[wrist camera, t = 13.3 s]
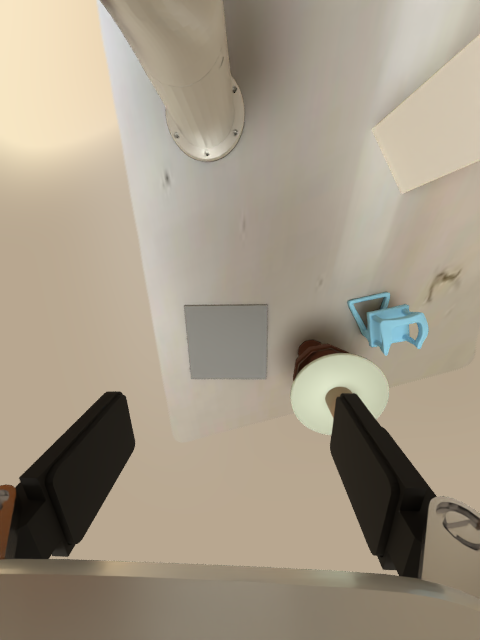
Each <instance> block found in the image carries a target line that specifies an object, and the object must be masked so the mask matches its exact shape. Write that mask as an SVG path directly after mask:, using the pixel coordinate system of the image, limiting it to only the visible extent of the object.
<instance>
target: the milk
mask: <svg viewBox="0 0 480 640" xmlns="http://www.w3.org/2000/svg"><path fill="white" fill-rule="evenodd" d="M372 132H373V134H374V136H375V138H376V140H377V143H378V145H379V147H380V149H381V151H382V153H383V156H384V158H385V160H386V162H387V164H388V166H389V169H390V171H391V173H392V175H393V177H394V179H395V182H396V184H397V186H398V188H399V190H400V192H401V194H403V193H405V192H408V191H410V190H412V189H415V188H417V187H419V186H422V185H424V184H426V183H429V182H431V181H433V180H435V179H438V178H440V177H442V176H445V175H447V174H449V173H452V172H454V171H456V170H459V169H461V168H463V167H466V166H468V165H470V164H473V163H475V162H477V161H479V160H480V34H479V35H478V36H477V37H476V38H475V39H474V40H473V41H472V42H470V43H469V44H468V45H467V46H466V47H465V48H464V49H462V50H461V51H460V52H459V53H458V54H457V55H456V56H454V57H453V58H452V59H451V60H450V61H449V62H448V63H447V64H445V65H444V66H443V67H442V68H441V69H440V70H439V71H437V72H436V73H435V74H434V75H433V76H432V77H431V78H430V79H428V80H427V81H426V82H425V83H424V84H423V85H422V86H420V87H419V88H418V89H417V90H416V91H415V92H414V93H412V94H411V95H410V96H409V97H408V98H407V99H406V100H405V101H403V102H402V103H401V104H400V105H399V106H398V107H397V108H395V109H394V110H393V111H392V112H391V113H390V114H389V115H387V116H386V117H385V118H384V119H383V120H382V121H381V122H380V123H378V124H377V125H376V126H375V127H374V128H373V129H372Z"/></svg>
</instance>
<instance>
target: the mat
mask: <svg viewBox="0 0 480 640" xmlns="http://www.w3.org/2000/svg"><path fill="white" fill-rule="evenodd" d="M184 311H185V321H186V331H187V341H188V352H189V362H190V372H191V379H266V371H267V313H268V305H185V306H184Z"/></svg>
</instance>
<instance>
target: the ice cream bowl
mask: <svg viewBox="0 0 480 640" xmlns="http://www.w3.org/2000/svg"><path fill="white" fill-rule="evenodd" d="M336 353H348V352H346V351H344V350H342V349H339V348H337V347H334V346H332V345H330V344H323V345H321V343H320V342H318V341H315V340H309V341H305V342H304V343H303V344H302V345H301V346H300V347H299V351H298V355H299V357H298V358H297V359H296V363H295V369H294V375H293V381H294V380H295V378H296V376H297V375H298V373H299V372H300V371H301V370H302V369H303V368H304V367H305V366H306V365H308V364H309V363H311V362H312V361H314V360H316V359H318V358H320V357H323V356H326V355H330V354H336ZM349 354H350V353H349Z"/></svg>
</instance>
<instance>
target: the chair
mask: <svg viewBox="0 0 480 640" xmlns="http://www.w3.org/2000/svg"><path fill="white" fill-rule="evenodd" d="M381 297H384V299H383V302H382V305H381V308H380V310H376V311H371V312H367V322H368V329H366V326H365V325H364V323H363V321H362V319H361V317H360V316H359V314H358V312H357V311H356V309H355V307H354V305H353V304H354V303H357V302H362V301H367V300H372V299H377V298H381ZM389 300H390V293H388V292H384V293H379V294H375V295H370V296H366V297H361V298H357V299H353V300H349V301H348V302H347V303H348V306H349V309H350V311H351V313H352V314H353V316H354V318H355V320H356V322H357V324H358V326H359V328H360V331H361V333H362V335H363V336H365V337H366V338H367V340H368V342H369V346H371V347H377V346H379V347H380V349H381V351H382V352H383V353H384V355H388V351H389V348H390V345H391V343H396V342H402V341H408V342H410V343H412V344H414V345H415V346H416V347H417V348H418V349H420V348H421V346H422V343H423V341H424V340H425V338H426V337H427V335H428V324H427V321H426V318H425V316H424V314H423V313H420V312H409V305H406V304H404V305H399V306H395V307H391V308H387V307H388V303H389ZM412 323H417V325H418V329H419V333H418V337H417V339H416V340H414V339H412V338H411V337H409V324H412Z"/></svg>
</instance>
